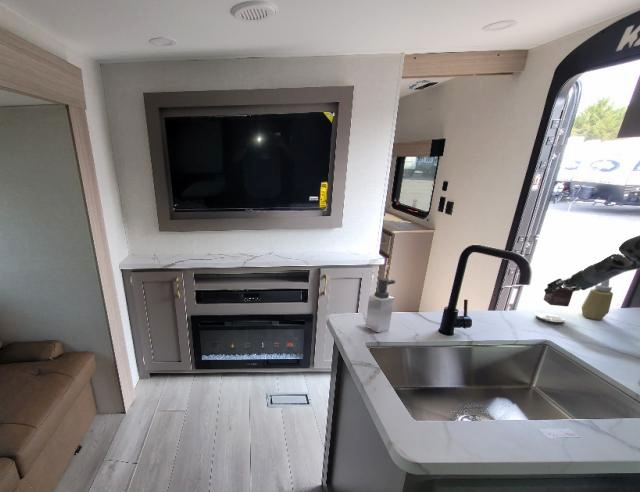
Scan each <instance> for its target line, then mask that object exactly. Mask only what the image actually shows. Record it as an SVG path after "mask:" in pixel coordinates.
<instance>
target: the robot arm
mask: <svg viewBox="0 0 640 492" xmlns="http://www.w3.org/2000/svg"><path fill="white" fill-rule="evenodd" d="M617 251H618V252H619V253H610V254H609V255H605V256H604V257H602V258H600V259H598V260H596V261H592V262H591V263H588V264H586V265H585V266H583V267H580V268H578V269H576V270H574V271H573V272H572V273H571V275H570V277H567V278H566V279H562V278H557V279H555V280H553V281H551V282H549V283H547V284H546V286H547V287H548V288H547V287H546V288H544V294H545V293H546V294H550V293H552V292H554V291H556V290H560V289H561V290H565V289H569V288H571V289H573V290H574V291H573V293H574V292H579V291H585V290H588V289H591V288H594V287H595V286H596V285H598V284H601V283H602V282H605V281H607V280H609V281H610V280H611V279H612V278H614V277H617V276H619V275H621V274H624V273H626V272H630V271H636V270H640V234H637V235H635V236H631V237H628V238H626V239H625V240H623V241H621V242H620V243H619V244H618V246H617ZM562 285H564V286H565V287H564V288H563V286H562ZM558 287H559V288H558Z"/></svg>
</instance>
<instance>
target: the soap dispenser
mask: <svg viewBox="0 0 640 492" xmlns="http://www.w3.org/2000/svg"><path fill="white" fill-rule="evenodd" d="M394 284H396V280H394V279H389V278H386V277H379V278H378V287H377V290H376V291H375V292H374V293H373V294H369V295H368V302H367V303H368V304H367V311H366V319H365V327H366V326H368V327H370V328H371V329H373V330H374V331H376V332H381V331H384V332H386V331H385V330H388V329H389V330H390V327H391V320H392V313H393V306H394V301H395V300H394V299H395V298H394V297H393V296H390V294H389V291H387V290H388V285H394ZM389 330H388V331H389ZM374 331H373V332H374ZM381 333H382V332H381Z"/></svg>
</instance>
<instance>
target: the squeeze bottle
mask: <svg viewBox="0 0 640 492" xmlns="http://www.w3.org/2000/svg"><path fill="white" fill-rule="evenodd" d="M612 289H613V287H612V286H611V285H610V279H609V280H607V281H605V282H602V283H600V284H598V285H596V286H594V288H592V289H591V288H590V290H589V292H588V294H587V295H586V298H585V300H584V301H583V303H582V305H581V314H582V316H583V317H584V318H587V319H591V320H599V321H600V320H603V318H605V317H606V316H607V315H608V314H609V312H610V308H611V305H612V304H611V303H612V300H613V296H614V293H613V292H612Z"/></svg>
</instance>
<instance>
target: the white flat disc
mask: <svg viewBox="0 0 640 492" xmlns="http://www.w3.org/2000/svg"><path fill="white" fill-rule="evenodd" d="M535 319H537V320H539V321H540V322H543V323H546V324H551V325H564V324H565V321H566V320H565V319H564V318H563V317H561V316H559V315H556V314H553V313H548V312H547V313H546V312H538V313H536V314H535Z"/></svg>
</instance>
